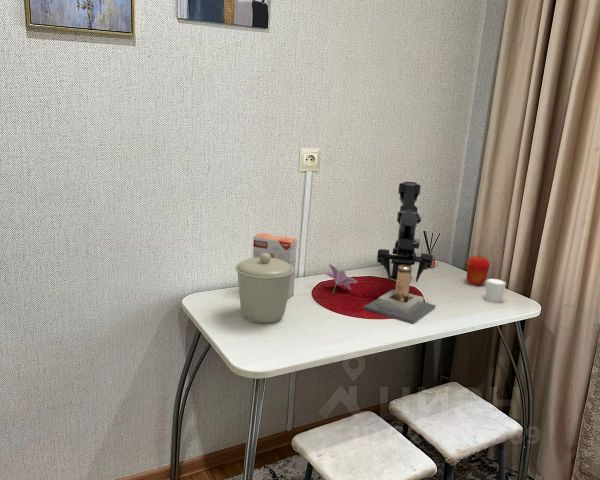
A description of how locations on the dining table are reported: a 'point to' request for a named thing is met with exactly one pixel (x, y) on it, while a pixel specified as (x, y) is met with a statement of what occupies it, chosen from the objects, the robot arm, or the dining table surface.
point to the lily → (340, 277)
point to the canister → (263, 288)
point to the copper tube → (403, 283)
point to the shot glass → (494, 290)
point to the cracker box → (277, 251)
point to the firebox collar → (400, 307)
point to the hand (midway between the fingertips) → (402, 280)
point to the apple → (477, 270)
